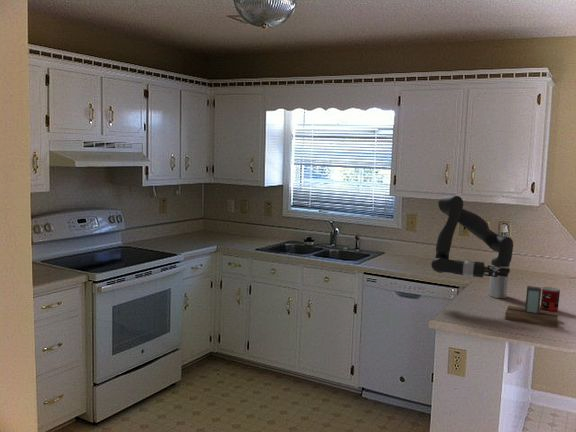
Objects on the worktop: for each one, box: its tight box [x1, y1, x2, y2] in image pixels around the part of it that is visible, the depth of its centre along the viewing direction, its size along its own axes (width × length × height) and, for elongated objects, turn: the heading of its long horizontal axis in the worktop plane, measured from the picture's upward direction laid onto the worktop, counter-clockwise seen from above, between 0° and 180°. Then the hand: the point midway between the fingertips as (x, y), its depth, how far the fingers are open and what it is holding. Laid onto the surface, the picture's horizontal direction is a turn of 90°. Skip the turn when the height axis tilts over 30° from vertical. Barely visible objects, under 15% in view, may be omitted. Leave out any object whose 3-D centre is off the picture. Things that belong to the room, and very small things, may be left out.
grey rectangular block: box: [524, 285, 542, 315], centre depth 268 cm, size 3×6×14 cm, turn 64°
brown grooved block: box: [504, 305, 559, 328], centre depth 268 cm, size 13×22×4 cm, turn 64°
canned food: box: [540, 286, 561, 313], centre depth 287 cm, size 8×8×11 cm
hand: (508, 272), depth 274 cm, fingers open, 8 cm apart
